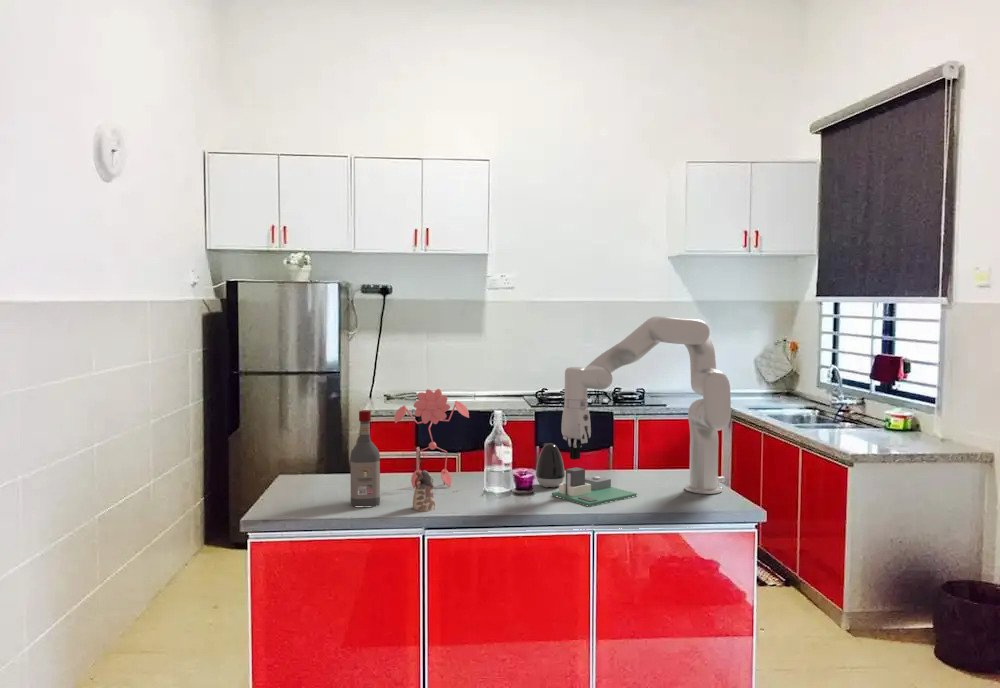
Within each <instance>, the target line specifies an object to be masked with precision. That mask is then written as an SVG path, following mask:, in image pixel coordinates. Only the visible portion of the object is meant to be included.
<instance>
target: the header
mask: <svg viewBox="0 0 1000 688" xmlns="http://www.w3.org/2000/svg"><path fill="white" fill-rule="evenodd" d="M558 488H559V490H558V491H559V493H562V494H566V482H562V483H561V484H559V486H558ZM590 493H591V484H588V483H585V485H582V486H576V487H572V486H568V495H569V496H573V497H575V496H580V495H585V494H590Z"/></svg>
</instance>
